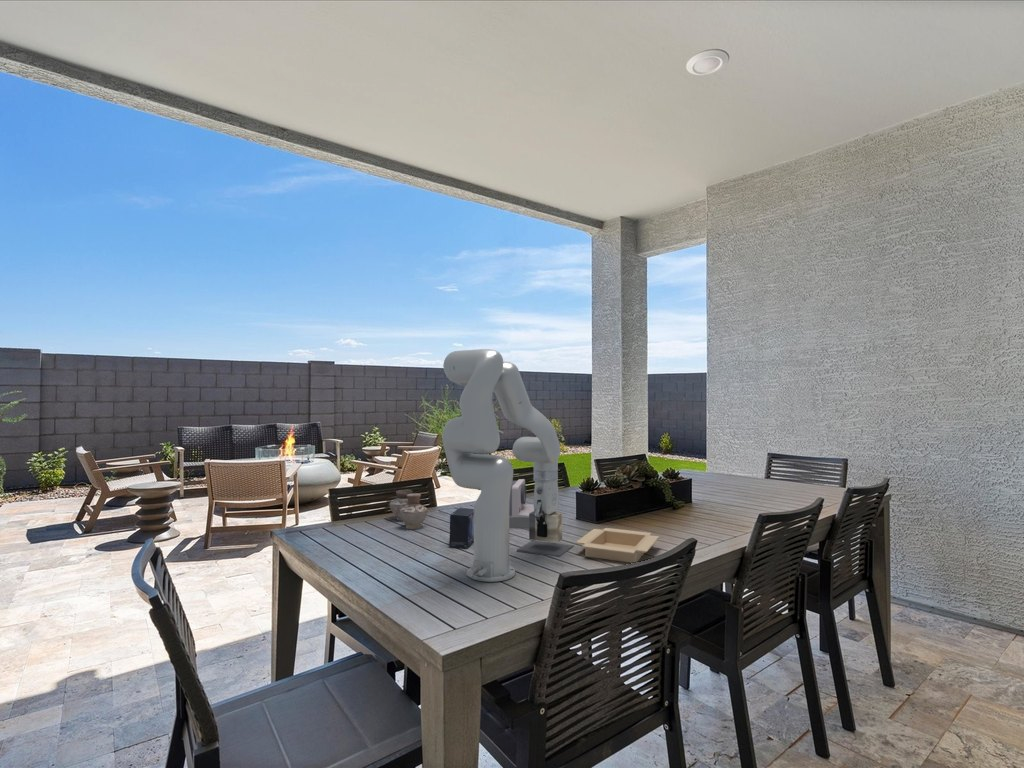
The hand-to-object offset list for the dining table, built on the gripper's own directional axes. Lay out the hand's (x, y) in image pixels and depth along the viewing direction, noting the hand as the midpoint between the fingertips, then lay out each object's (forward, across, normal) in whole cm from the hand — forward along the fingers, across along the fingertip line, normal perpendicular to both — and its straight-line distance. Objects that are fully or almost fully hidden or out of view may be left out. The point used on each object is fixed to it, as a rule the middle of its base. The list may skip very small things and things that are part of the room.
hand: (545, 533), depth 166 cm
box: (+2, 0, 0) cm, 2 cm away
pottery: (+5, +9, +59) cm, 60 cm away
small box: (+5, -6, +26) cm, 27 cm away
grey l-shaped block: (+5, +28, +26) cm, 38 cm away
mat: (+5, 0, 0) cm, 5 cm away
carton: (+5, +7, -21) cm, 23 cm away
